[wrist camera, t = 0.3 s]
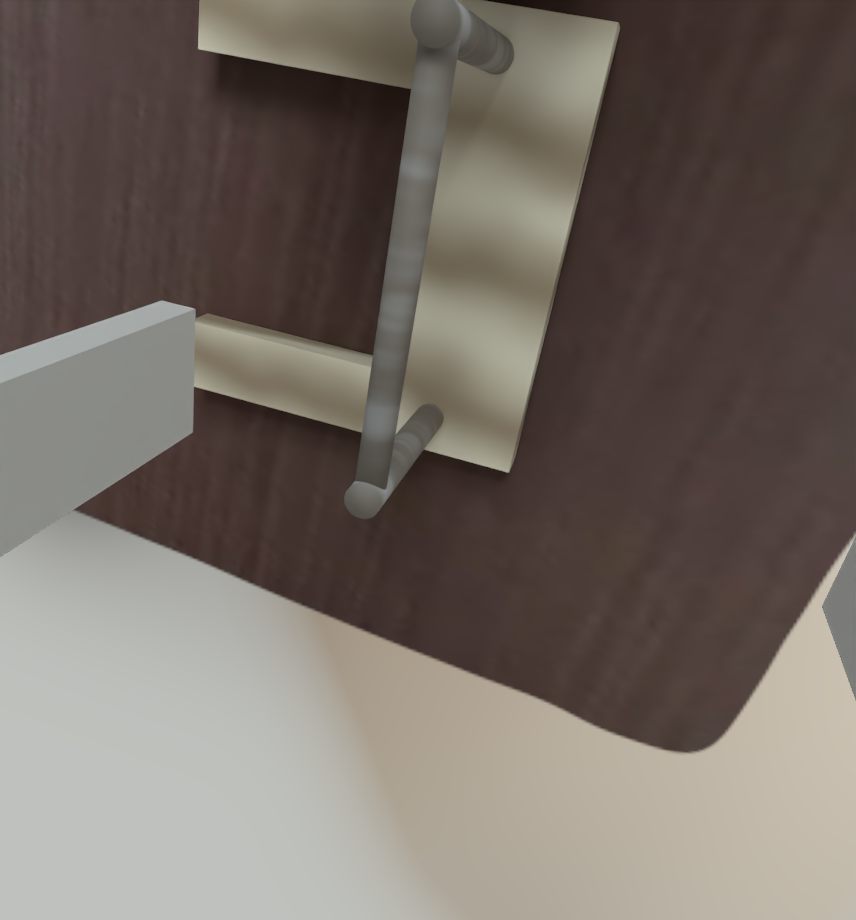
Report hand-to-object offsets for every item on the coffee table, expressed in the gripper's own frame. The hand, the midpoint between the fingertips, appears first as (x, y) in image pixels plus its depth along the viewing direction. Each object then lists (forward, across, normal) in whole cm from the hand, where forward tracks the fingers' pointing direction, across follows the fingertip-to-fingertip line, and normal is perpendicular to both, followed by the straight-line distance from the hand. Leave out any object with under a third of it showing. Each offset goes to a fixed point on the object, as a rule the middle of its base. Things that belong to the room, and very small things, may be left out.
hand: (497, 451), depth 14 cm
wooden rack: (+27, -11, -1) cm, 29 cm away
